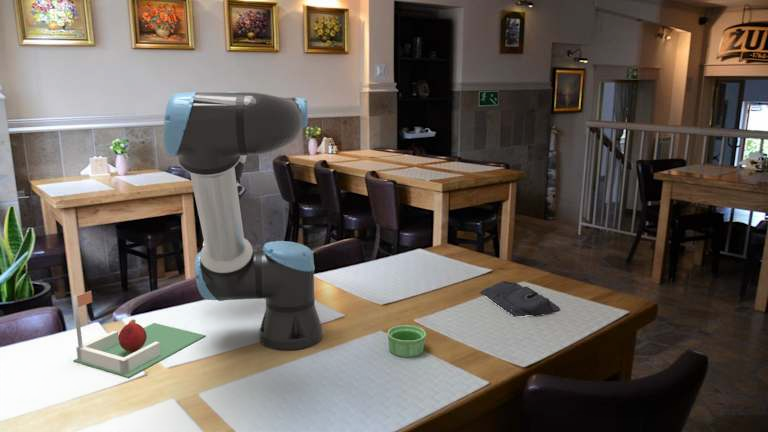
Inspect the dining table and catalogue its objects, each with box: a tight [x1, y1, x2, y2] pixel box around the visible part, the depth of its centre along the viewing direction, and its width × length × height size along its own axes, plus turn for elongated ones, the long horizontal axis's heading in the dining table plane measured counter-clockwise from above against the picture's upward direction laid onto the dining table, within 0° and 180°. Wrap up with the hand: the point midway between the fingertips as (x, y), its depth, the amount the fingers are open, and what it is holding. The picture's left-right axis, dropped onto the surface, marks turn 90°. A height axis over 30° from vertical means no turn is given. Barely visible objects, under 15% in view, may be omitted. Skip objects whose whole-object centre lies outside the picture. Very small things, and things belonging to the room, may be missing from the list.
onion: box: [118, 319, 147, 353], centre depth 131 cm, size 6×6×8 cm
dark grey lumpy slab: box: [479, 280, 561, 317], centre depth 165 cm, size 15×22×5 cm
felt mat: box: [73, 322, 206, 379], centre depth 134 cm, size 17×23×1 cm
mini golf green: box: [72, 290, 161, 374], centre depth 128 cm, size 14×10×15 cm
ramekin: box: [386, 324, 427, 358], centre depth 134 cm, size 9×9×4 cm
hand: (208, 246), depth 147 cm, fingers closed
